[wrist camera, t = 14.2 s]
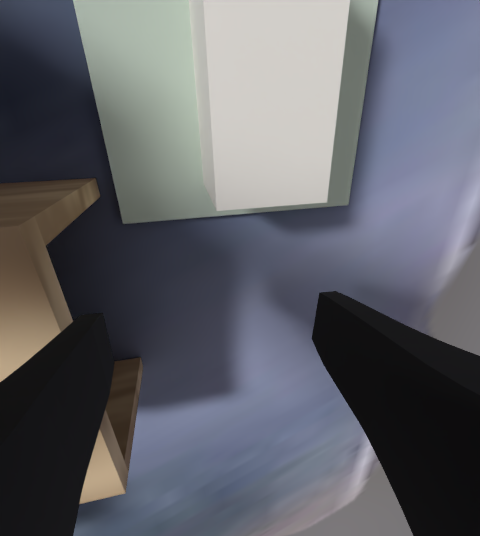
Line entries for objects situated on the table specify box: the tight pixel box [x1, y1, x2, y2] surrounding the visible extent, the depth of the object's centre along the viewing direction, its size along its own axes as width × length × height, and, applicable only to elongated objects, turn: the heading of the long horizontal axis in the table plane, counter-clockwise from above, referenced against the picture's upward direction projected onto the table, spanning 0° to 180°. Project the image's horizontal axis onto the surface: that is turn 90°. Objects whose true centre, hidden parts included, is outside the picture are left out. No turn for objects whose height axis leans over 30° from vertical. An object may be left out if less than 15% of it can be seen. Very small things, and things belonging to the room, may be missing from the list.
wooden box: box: [0, 178, 143, 504], centre depth 14 cm, size 14×8×8 cm, turn 2°
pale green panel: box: [73, 0, 378, 224], centre depth 14 cm, size 14×14×1 cm
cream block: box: [189, 0, 350, 211], centre depth 11 cm, size 4×10×6 cm, turn 1°
